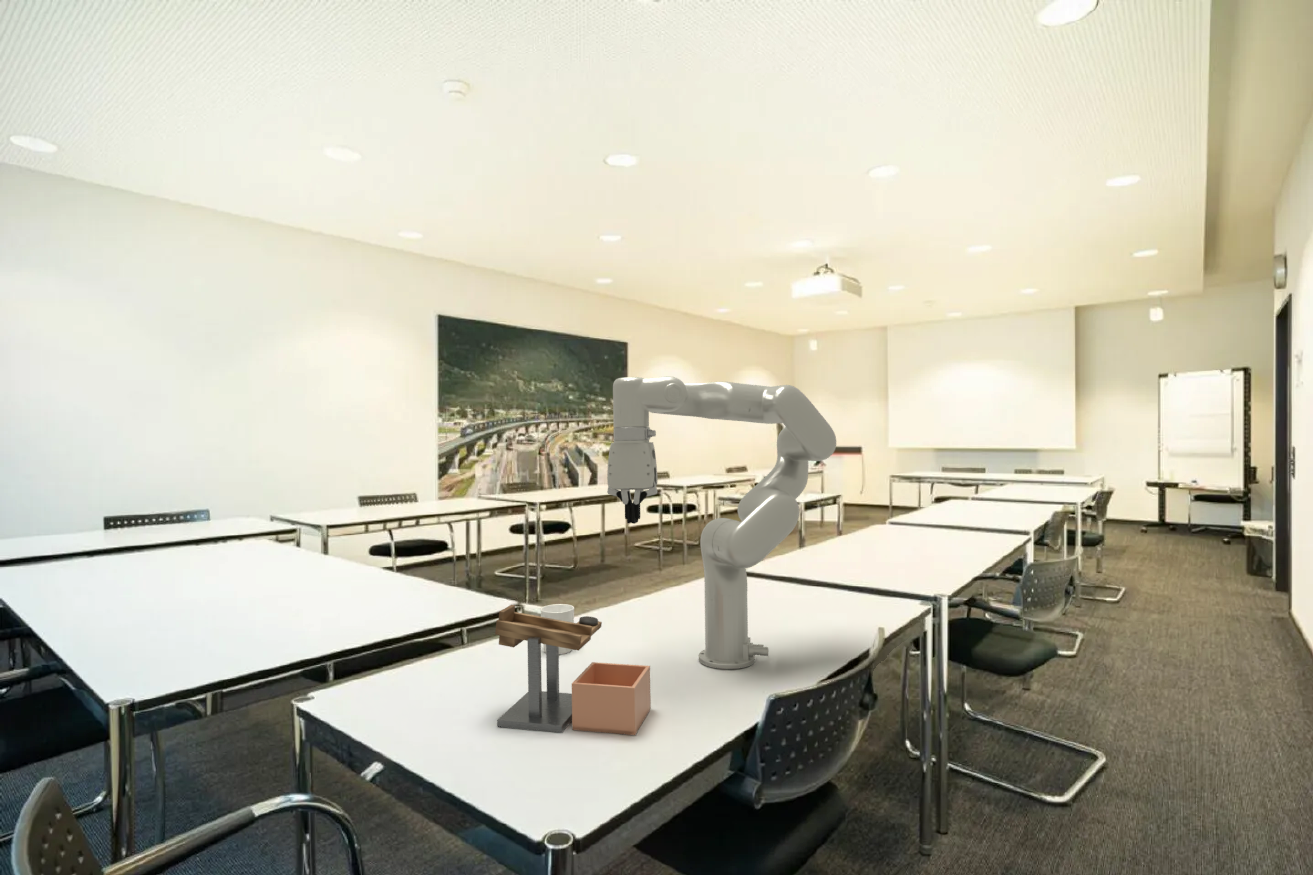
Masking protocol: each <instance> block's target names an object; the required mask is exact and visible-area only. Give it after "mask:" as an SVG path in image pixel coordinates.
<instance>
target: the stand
mask: <svg viewBox="0 0 1313 875" xmlns="http://www.w3.org/2000/svg"><path fill="white" fill-rule="evenodd" d="M545 654H546V655H545V660H546V662H545V663H546V664H545V665H546V670H545V671H546V691H542V685H543V684H542V643H541V638H538V637H530V638H528V641H527V683H528V684H527V686H528V688H527V690H528V691H527V692H526V693H525V694H524V695H523V696H522V697H521V698H520V699H518V700H517V701H516V702H515V703H514V704H513V705H512V706H511V707H510V708H508V709H507V710H506V711H505V712H504V713H503V714H502V715H501V716H500V717H498V718H497V720H496V727H497V726H499V727H498V728H504V727H509V728H508V729H515V728H518V729H517V730H527V729H529V730H530V731H539V732H550V733H563V732H564V731H565V730H566V729H567V727H568V726H569V725H570V723H571V722H572V693H570V692H569V693H568V692H560V668H559V667H560V665H559V662H560V661H559V660H560V656H559V655H560V654H559V648H558V647H557V646H552V645H547V644H546V653H545ZM568 724H569V725H568ZM500 726H501V727H500ZM563 730H564V731H563Z"/></svg>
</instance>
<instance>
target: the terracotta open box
mask: <svg viewBox="0 0 1313 875" xmlns="http://www.w3.org/2000/svg"><path fill="white" fill-rule="evenodd" d="M571 694H572V721H571V722H572V723H571V727H572V728H571V730H573V731H583V732H592V733H593V732H594V733H606V734H615V735H627V736H636V735H637V733H638V732H639V730H640V728H641V726H642V724H643V723H644V721H645V720H646V718H647V716H648V715H649V713H650V711H651V709H652V708H651V707H652V706H651V704H652V702H651V701H652V700H651V698H652V697H651V665H646V664H645V665H643V664H628V663H627V664H626V663H611V662H610V663H608V662H597V661H596V662H595V661H592V662H591V663H590V664H588V666H587V667H586V668H585V669H584V670H583V671H582V672H581V673H580V674H579V675H578V676H577V677H576V678H575V679H574V680H573V681H572V683H571Z"/></svg>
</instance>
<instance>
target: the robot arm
mask: <svg viewBox="0 0 1313 875" xmlns="http://www.w3.org/2000/svg"><path fill="white" fill-rule="evenodd" d="M612 405H613V406H612V413H613V414H612V415H613V419H612V420H613V422H612V423H613V442H611V443H610V447H609V453H608V460H607V471H606V472H607V474H606V475H607V476H606V479H607V492H606V493H607V494H608V495H609V496H613V497H617V498H618V499H619V500H620V501H621V502H622V504H623V505H624V519H625V520H626V522H627V523H626V524H634V525H635V524H637V523H638V522H639V520H640V519H641V503H642V502H643V501H644V500H645V499H646V498H647V497H651V496H655V495H657V494H658V488H657V485H658V467H657V457H656V449H655V445H654V442H651V441H650V440H651V438H652V437H656V436H657V432H656V430H655V429H651V427H650V413H652V414H658V415H660V414H661V415H671V416H672V415H673V416H681V417H682V416H683V417H693V418H694V417H696V418H702V419H703V418H704V419H709V420H719V421H720V420H722V421H735V422H744V423H755V424H766V425H768V424H769V425H773V424H783V425H784V428H782V429H781V431H780V432H779V433H778V435H777V439H776V454H777V457H776V462H775V465H774V467H773V468H772V469H771V471H770V472H768V473H767V474H766V476H765V477H764V478H762V479H761V480H760V481H759V482H758V483H756V485H755V486H754V487H752V488H751V489H750V490H749V491H748V492H747V493H746V494H744V496H743V497H742V498H741V499H740V501H739V503H738V505H737V514H738V518H739V519H740V521H739V520H736V519H732V518H727V517H719V518H718V517H717V518H714V519H712V520H710V521H709V522H707V523H706V524H705V525H704V528H703V529H702V531H701V534H700V541H699V542H700V551H701V552H700V553H701V559H702V565H703V574H704V578H703V582H704V635H705V636H704V640H705V642H704V644H705V645H704V647H705V649H702V650H701V651H700V652H699V653H698V661H699V662H700V663H701V664H702V665H703V666H706V667H709V668H713V669H720V670H721V669H722V670H735V669H736V670H737V669H743V668H747V667H750V666H751V665H753V664H755V662H756V656H760V657H769V647H768V646H764V644H755V643H753V642H751V639H752V638H751V637H749V627H748V626H749V624H748V623H749V622H748V616H749V615H748V614H749V613H748V610H749V608H748V575H747V571H746V570H747V569H749V568H752V567H754V566H756V565H757V564H759V563H761V562H762V561H763V560H764V559H765V558H766V557H767V556H768V555H769V554H770V553H771V552H772V551H774V549H776V548H777V547H778V546H779V545H780V544H781V542H783V541H784V540H785V539H786V538H787V537H788V536H789V535H790V534H791V533H792V532H793V531H794V529H795V527H796V526H797V524H798V522H799V521H798V520H799V517H800V506H799V503H798V501H797V499H798V498H799V497H800V495H801V494H802V493H803V492H804V490H805V488H806V486H807V484H808V481H809V461H810V462H819V461H820V462H821V461H824V460H827V459H829V458H830V457H831V456H832V455H833V454H834V453H835V451H836V449H837V448H836V447H837V438H836V434H835V431H834V429H833V428H832V426H831V425H830V423H828V421H827V420H826V419H825V418H824V416H823V415H822V413H821V412H820V411H819V410H818V409H817V407H815V405H814V404H813V403H812V401H811V400H810V399H809V398H808V397H807V396H806V395H805V393H803V392H802V391H801V390H800V389H799V388H797V387H796V386H794V385H791V384H782V385H775V386H774V385H773V386H767V385H766V386H765V385H757V384H747V383H739V382H733V381H711V382H710V381H709V382H702V383H701V382H700V383H689V382H688V383H685V382H683V381H682V380H681V379H680V378H678V377H674V376H659V377H651V378H644V377H639V376H638V377H637V376H635V377H634V376H628V377H627V376H625V377H618V378H616V379H615V380H614V381H613V385H612ZM633 490H634V493H633V494H634V495H633V496H634V497H633V500H632V495H631V491H633Z"/></svg>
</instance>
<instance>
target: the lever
mask: <svg viewBox="0 0 1313 875" xmlns="http://www.w3.org/2000/svg"><path fill="white" fill-rule="evenodd" d="M515 610H516V605H515V604H510V605H509V606H507V607H505V608H503V609H501V610H499V611H498V619H497V620H495V621H496V623H495V633H494V635H495V636H496V635H497V636H499V638H498V645H500V646H503V647H510V648H515V647H517V646H518V645H519V644H521V643H522V642H524V641H527V642H528V638H530V637H538V638H541V645H543V644H547V645H552V646H557V647H562V648H567V649H572V651H580V650H581V649H582V648H584V646H586V644H588V643H589V642H590V641H591V640H592V636H593V635H594V634H595V633H596V632H598V631H599V630H600V628H602V623H603V622H602V621H599V619H598V618H596V617H594V616H588V615H587V616H584V615H583V616H580V617H579V619H578V620H579V621H578V622H574V623H572V622H567V621H561V620H556V619H550V618H545V617H541V615H540V616H539V615H535V614H534V615H533V614H528V613H524V612H523V613H522V612H517V611H515Z"/></svg>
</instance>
